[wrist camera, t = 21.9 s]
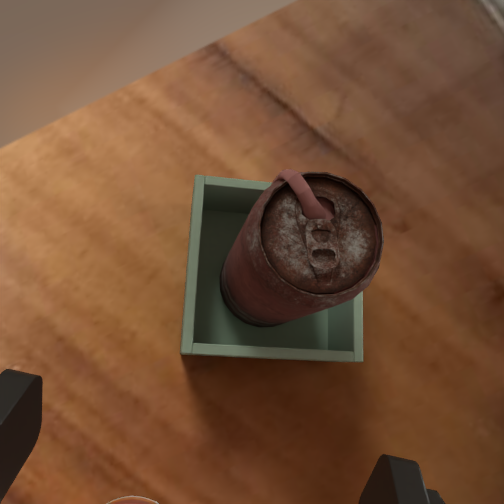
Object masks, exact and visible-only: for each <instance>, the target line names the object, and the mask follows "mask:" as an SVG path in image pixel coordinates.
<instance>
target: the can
mask: <svg viewBox="0 0 504 504" xmlns="http://www.w3.org/2000/svg"><path fill="white" fill-rule="evenodd" d="M383 243H384V239H383V230H382V222H381V220H380V217H379V215H378V213H377V210H376V208H375V206H374V204H373V203H372V202H371V200H370V199H369V198H368V197H367V195H366V194H365V193H364V192H363V191H362V189H360V188H359V187H357V186H356V185H354V184H353V183H351V182H350V181H349V180H347V179H346V178H343V177H340V176H337V175H334V174H331V173H328V172H300V173H299V172H297V171H294V170H292V169H289V170H282V171H281V172H280V173H279V174H278V176H277V177H276V178H275V180H274V181H273V182H272V184H271V186H269V187H268V188H267V189H265V190H264V192H263V193H262V194H261V196H260V197H259V199H258V200H257V202H256V203H255V204H254V206H253V207H252V209H251V211H250V213H249V215H248V217H247V219H246V221H245V223H244V225H243V227H242V229H241V230H240V232H239V234H238V236H237V238H236V240H235V242H234V244H233V246H232V248H231V250H230V252H229V254H228V256H227V258H226V259H225V261H224V263H223V266H222V270H221V273H220V292H221V295H222V298H223V300H224V303H225V305H226V306H227V308H228V309H229V310H230V311H231V313H232V314H233V315H234V316H235V317H237V318H238V319H240V320H241V321H243V322H244V323H246V324H249V325H252V326H256V327H274V326H277V325H280V324H283V323H286V322H289V321H292V320H295V319H298V318H301V317H304V316H307V315H310V314H313V313H316V312H319V311H322V310H325V309H328V308H331V307H334V306H337V305H339V304H342V303H344V302H347V301H350V300H352V299H354V298H355V297H356V296H357V295H358V294H359V293H361V292H362V291H363V290H364V289H365V288H366V287H368V286H369V284H370V282H371V280H372V279H373V277H374V275H375V273H376V272H377V270H378V268H379V264H380V259H381V254H382V249H383Z"/></svg>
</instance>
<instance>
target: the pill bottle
mask: <svg viewBox="0 0 504 504" xmlns="http://www.w3.org/2000/svg"><path fill="white" fill-rule="evenodd" d="M107 504H159V503H157V502H155V501H153V500H151V499H148V498H144V497H139V496H127V497H121V498H118V499H115V500H113V501H111V502H109V503H107Z"/></svg>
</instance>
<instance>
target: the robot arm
mask: <svg viewBox="0 0 504 504" xmlns="http://www.w3.org/2000/svg"><path fill="white" fill-rule="evenodd" d="M42 385H43V382H42V377H41V376H38V375H34V374H29V373H25V372H21V371H16V370H12V369H6V370H4V371H3V372H2V373H1V374H0V502H1V501H2V499H3V498H4V496H5V494H6V493H7V491H8V489H9V488H10V486H11V484H12V483H13V481H14V480H15V478H16V476H17V475H18V473H19V471H20V470H21V468H22V466H23V465H24V463H25V462H26V460H27V458H28V457H29V455H30V453H31V452H32V450H33V448H34V446H35V444H36V441H37V439H38V436H39V433H40V429H41V423H42ZM359 504H445V502H444V501H443V499H442V498H441V496H440V495H439V493H438V492H437V491H435V490H430V489H426V488H425V484H424V481H423V477H422V474H421V470H420V467H419V465H418V463H417V462H416V461H413V460H408V459H404V458H399V457H395V456H390V455H386V454H383V455H381V456H380V458H379V459H378V461H377V463H376V465H375V467H374V469H373V471H372V473H371V476H370V478H369V480H368V482H367V484H366V486H365V488H364V490H363V492H362V494H361V496H360V500H359Z"/></svg>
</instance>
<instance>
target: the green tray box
mask: <svg viewBox="0 0 504 504" xmlns="http://www.w3.org/2000/svg"><path fill="white" fill-rule="evenodd" d="M271 184H272V183H270V182H261V181H251V180H242V179H232V178H222V177H213V176H203V175H195V180H194V188H193V197H192V206H191V218H190V231H189V244H188V256H187V269H186V282H185V294H184V307H183V320H182V332H181V345H180V354H181V355H201V356H222V357H243V358H263V359H284V360H305V361H325V362H363V291H362V292H361V293H359V294H358V295H357V296H356V297H355V298H354V299H352V300H350V301H347V302H344V303H342V304H339V305H337V306H334V307H331V308H328V309H325V310H322V311H319V312H316V313H313V314H310V315H307V316H304V317H301V318H298V319H295V320H292V321H289V322H286V323H283V324H280V325H277V326H274V327H256V326H252V325H249V324H246V323H244V322H243V321H241V320H240V319H238V318H237V317H235V316H234V315H233V314H232V313H231V311H230V310H229V309H228V308H227V306H226V305H225V303H224V300H223V298H222V295H221V292H220V273H221V270H222V266H223V263H224V261H225V259H226V258H227V256H228V254H229V252H230V250H231V248H232V246H233V244H234V242H235V240H236V238H237V236H238V234H239V232H240V230H241V229H242V227H243V225H244V223H245V221H246V219H247V217H248V215H249V213H250V211H251V209H252V207H253V206H254V204H255V203H256V202H257V200H258V199H259V197H260V196H261V194H262V193H263V192H264V190H265V189H267V188H268V187H269V186H271Z"/></svg>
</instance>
